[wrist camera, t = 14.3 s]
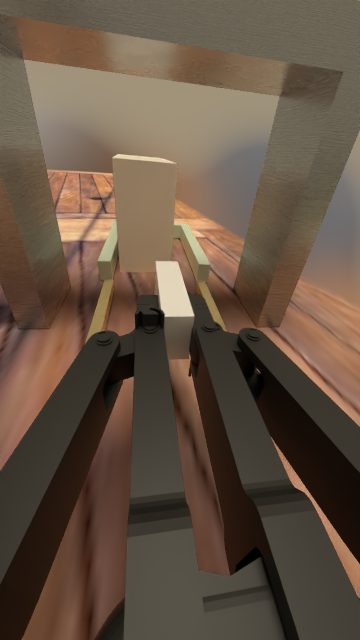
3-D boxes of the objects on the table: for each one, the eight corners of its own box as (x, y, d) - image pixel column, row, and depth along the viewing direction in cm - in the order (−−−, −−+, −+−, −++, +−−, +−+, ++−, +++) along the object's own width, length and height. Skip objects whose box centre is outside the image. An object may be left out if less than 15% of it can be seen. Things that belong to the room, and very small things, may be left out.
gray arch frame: (311, 370, 20) (573, -75, 8) (-19, 382, 16) (-513, -419, 4) (251, 289, 31) (318, 58, 19) (48, 286, 27) (-30, -3, 15)
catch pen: (207, 282, 32) (210, 264, 30) (100, 279, 30) (97, 261, 28) (186, 236, 48) (187, 223, 47) (116, 233, 46) (115, 219, 45)
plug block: (170, 272, 34) (177, 163, 26) (119, 272, 32) (111, 157, 25) (160, 239, 46) (162, 158, 38) (122, 238, 44) (117, 154, 37)
